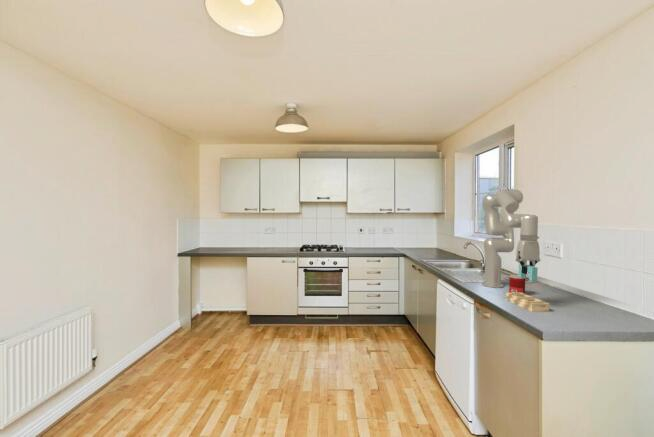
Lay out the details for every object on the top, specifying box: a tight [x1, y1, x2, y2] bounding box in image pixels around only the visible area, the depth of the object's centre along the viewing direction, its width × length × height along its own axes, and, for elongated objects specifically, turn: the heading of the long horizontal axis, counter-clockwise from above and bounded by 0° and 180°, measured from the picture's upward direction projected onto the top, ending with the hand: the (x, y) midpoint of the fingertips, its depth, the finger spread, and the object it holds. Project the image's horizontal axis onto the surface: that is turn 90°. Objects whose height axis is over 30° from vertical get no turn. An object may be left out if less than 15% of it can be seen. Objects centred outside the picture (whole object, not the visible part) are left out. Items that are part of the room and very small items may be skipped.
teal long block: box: [517, 263, 539, 282], centre depth 164 cm, size 10×3×7 cm, turn 4°
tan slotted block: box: [505, 292, 550, 313], centre depth 165 cm, size 20×9×4 cm, turn 4°
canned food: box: [508, 274, 526, 294], centre depth 185 cm, size 8×8×11 cm
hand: (527, 273), depth 164 cm, fingers closed on teal long block, 2 cm apart
